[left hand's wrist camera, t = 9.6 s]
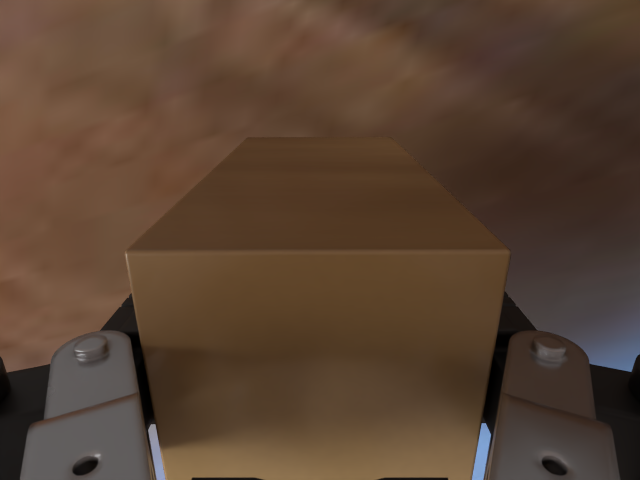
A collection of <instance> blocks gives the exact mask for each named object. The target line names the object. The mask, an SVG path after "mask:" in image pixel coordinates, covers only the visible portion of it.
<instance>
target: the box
mask: <svg viewBox="0 0 640 480" xmlns="http://www.w3.org/2000/svg"><path fill="white" fill-rule="evenodd" d="M510 257H511V252H510V250H509V249H508V248H507V247H506V246H505V245H504V244H503V243H502V242H501V241H500V240H499V239H498V238H497V237H496V236H495V235H494V234H493V233H492V232H490V231H489V230H488V229H487V228H486V227H485V226H484V225H483V224H482V223H481V222H480V221H479V220H478V219H477V218H476V217H475V216H474V215H473V214H471V213H470V212H469V211H468V210H467V209H466V208H465V207H464V206H463V205H462V204H461V203H460V202H459V201H458V200H457V199H456V198H455V197H454V196H453V195H451V194H450V193H449V192H448V191H447V190H446V189H445V188H444V187H443V186H442V185H441V184H440V183H439V182H438V181H437V180H436V179H435V178H434V177H432V176H431V175H430V174H429V173H428V172H427V171H426V170H425V169H424V168H423V167H422V166H421V165H420V164H419V163H418V162H417V161H416V160H415V159H413V158H412V157H411V156H410V155H409V154H408V153H407V152H406V151H405V150H404V149H403V148H402V147H401V146H400V145H399V144H398V143H397V142H396V141H394V140H393V139H392V138H391V137H271V138H246V139H245V140H244V141H243V142H242V143H241V144H240V145H239V146H238V147H237V148H236V149H235V150H234V151H232V152H231V153H230V154H229V155H228V156H227V157H226V158H225V159H224V160H223V161H222V162H221V163H220V164H218V165H217V166H216V167H215V168H214V169H213V170H212V171H211V172H210V173H209V174H208V175H207V176H205V177H204V178H203V179H202V180H201V181H200V182H199V183H198V184H197V185H196V186H195V187H194V188H193V189H191V190H190V191H189V192H188V193H187V194H186V195H185V196H184V197H183V198H182V199H181V200H180V201H179V202H177V203H176V204H175V205H174V206H173V207H172V208H171V209H170V210H169V211H168V212H167V213H166V214H165V215H163V216H162V217H161V218H160V219H159V220H158V221H157V222H156V223H155V224H154V225H153V226H152V227H151V228H149V229H148V230H147V231H146V232H145V233H144V234H143V235H142V236H141V237H140V238H139V239H138V240H136V241H135V242H134V243H133V244H132V245H131V246H130V247H129V248H128V249H127V250H126V251H125V260H126V265H127V271H128V276H129V282H130V287H131V293H132V298H133V303H134V309H135V314H136V320H137V325H138V331H139V336H140V342H141V347H142V353H143V358H144V364H145V369H146V375H147V380H148V386H149V391H150V396H151V402H152V407H153V413H154V418H155V424H156V429H157V435H158V440H159V446H160V451H161V457H162V462H163V468H164V473H165V479H166V480H191V479H192V477H255V478H259V479H263V480H377V479H381V478H385V477H448V479H449V480H472V475H473V469H474V463H475V457H476V452H477V446H478V440H479V435H480V429H481V423H482V417H483V412H484V406H485V400H486V395H487V389H488V383H489V377H490V372H491V366H492V360H493V354H494V349H495V343H496V337H497V332H498V326H499V320H500V314H501V309H502V303H503V297H504V291H505V286H506V280H507V274H508V269H509V263H510Z"/></svg>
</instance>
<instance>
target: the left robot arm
mask: <svg viewBox="0 0 640 480" xmlns="http://www.w3.org/2000/svg"><path fill="white" fill-rule="evenodd" d="M482 423H486V424H487V427H488V429H489V431H490V433H491V438H490V443H489V449H488V455H487V461H486V467H485V473H484V479H483V480H640V355H638V356H637V358H636V360H635V363H634V366H633V369H632V372H628V371H623V370H618V369H612V368H607V367H602V366H597V365H592V364H589V359H588V356H587V355H586V353H585V352H584V351H583V350H582V349H581V348H580V347H579V346H578V345H576V344H575V343H573V342H572V341H570V340H568V339H566V338H564V337H561V336H559V335H556V334H552V333H549V332H544V331H537V330H536V328H535V327H534V326H533V325H532V324H531V322H530V321H529V320H528V319H527V317H526V316H525V315H524V314H523V313H522V311H521V310H520V309H519V308H518V307H516V306H515V303H514V302H513V301H512V299H511V298H510V297H508V294H507V293H506V292H505V291H504V297H503V303H502V309H501V314H500V320H499V326H498V332H497V337H496V343H495V349H494V354H493V360H492V366H491V372H490V377H489V383H488V389H487V395H486V400H485V406H484V412H483V417H482ZM151 424H155V418H154V413H153V407H152V402H151V396H150V391H149V386H148V380H147V375H146V369H145V364H144V358H143V353H142V347H141V342H140V336H139V331H138V325H137V320H136V314H135V309H134V303H133V298H132V293H131V294H130V295H129V298H127V299H126V300H125V301H124V302H123V304H122V307H119V308H118V310H117V311H116V312H115V313H114V314H113V316H112V317H111V318H110V319H109V320H108V322H107V323H106V324H105V325H104V326H103V328H102V329H101V330H100V331H96V332H91V333H88V334H84V335H81V336H79V337H76V338H74V339H72V340H70V341H68V342H67V343H65V344H64V345H62V346H61V347H60V348H59V349H58V350H57V351H56V352H55V353H54V355H53V356H52V359H51V364H48V365H44V366H39V367H34V368H29V369H24V370H18V371H13V372H8V373H7V372H6V369H5V366H4V363H3V360H2V358H1V357H0V480H157V479H156V473H155V467H154V461H153V455H152V449H151V443H150V438H149V433H148V429H149V427H150V425H151ZM191 480H263V479H259V478H255V477H192V479H191ZM377 480H449V479H448V477H385V478H381V479H377Z"/></svg>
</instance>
